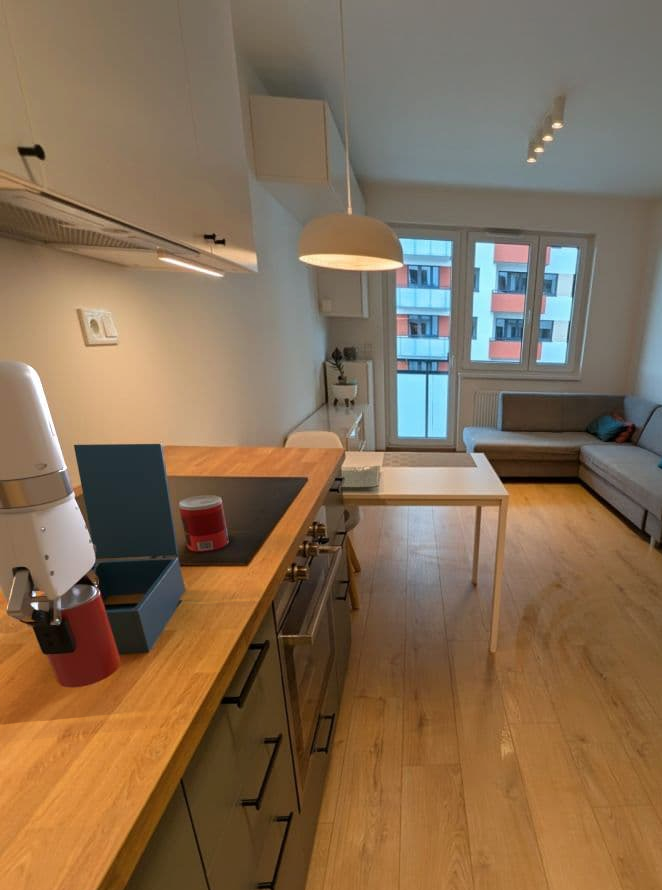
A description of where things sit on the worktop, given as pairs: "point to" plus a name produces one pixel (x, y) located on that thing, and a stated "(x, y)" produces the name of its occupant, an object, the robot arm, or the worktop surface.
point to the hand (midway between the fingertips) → (76, 632)
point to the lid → (127, 499)
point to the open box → (150, 616)
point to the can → (85, 639)
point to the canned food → (204, 523)
